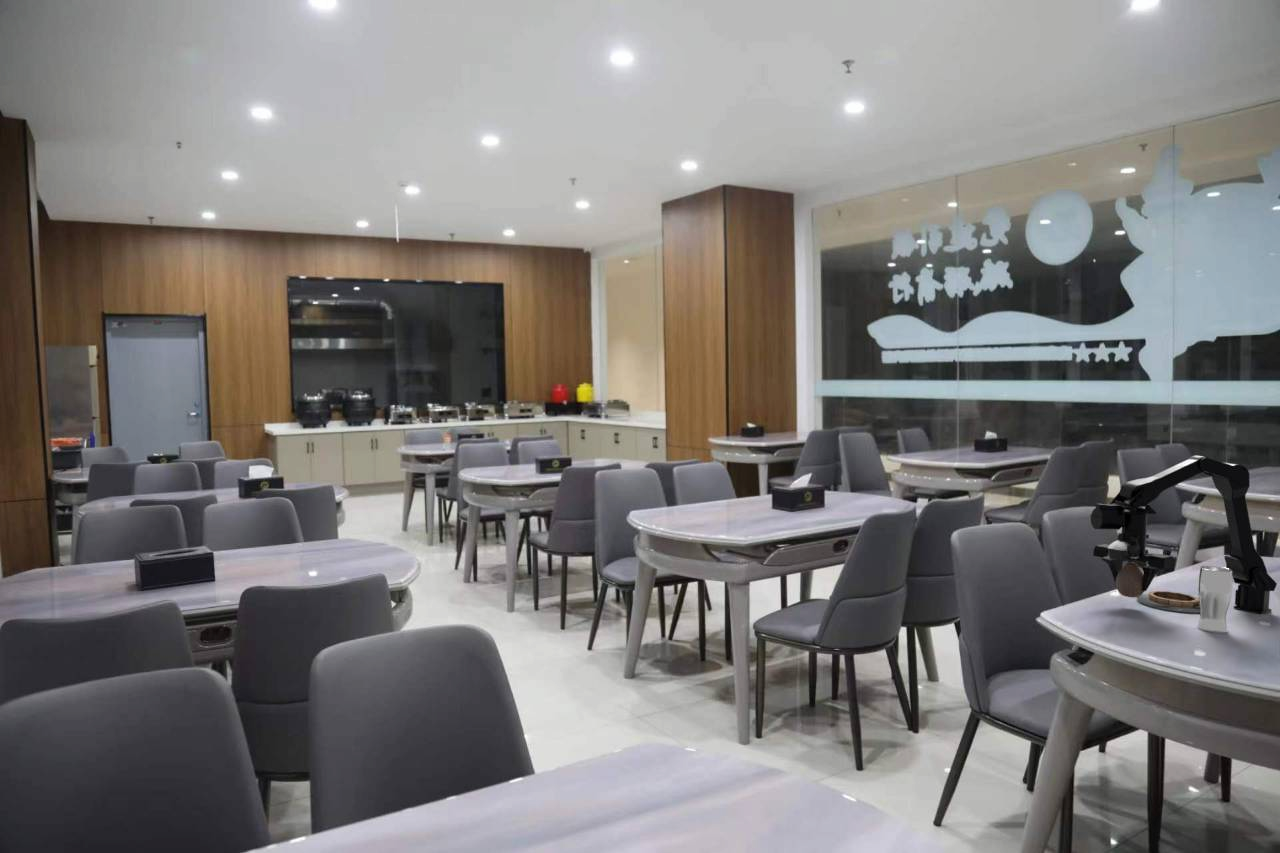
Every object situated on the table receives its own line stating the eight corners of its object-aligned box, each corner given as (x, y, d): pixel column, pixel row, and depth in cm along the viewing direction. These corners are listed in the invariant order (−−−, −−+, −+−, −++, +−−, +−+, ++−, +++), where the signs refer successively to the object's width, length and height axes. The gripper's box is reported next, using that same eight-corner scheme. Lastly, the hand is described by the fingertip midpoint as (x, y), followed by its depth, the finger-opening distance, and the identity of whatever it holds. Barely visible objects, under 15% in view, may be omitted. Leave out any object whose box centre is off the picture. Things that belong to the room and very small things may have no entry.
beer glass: (1219, 626, 211) (1222, 566, 210) (1235, 634, 204) (1239, 572, 203) (1189, 624, 212) (1193, 564, 211) (1205, 632, 205) (1208, 571, 204)
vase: (1115, 596, 225) (1117, 564, 225) (1114, 591, 232) (1116, 559, 231) (1145, 600, 222) (1147, 567, 222) (1144, 594, 228) (1146, 562, 228)
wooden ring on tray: (1223, 608, 228) (1224, 599, 228) (1190, 616, 219) (1191, 607, 219) (1157, 593, 243) (1158, 585, 242) (1124, 600, 234) (1124, 592, 234)
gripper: (1082, 526, 230) (1079, 584, 230) (1154, 538, 214) (1150, 600, 215) (1105, 523, 235) (1102, 579, 236) (1177, 535, 219) (1174, 595, 220)
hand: (1130, 588), depth 227 cm, fingers closed on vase, 7 cm apart
